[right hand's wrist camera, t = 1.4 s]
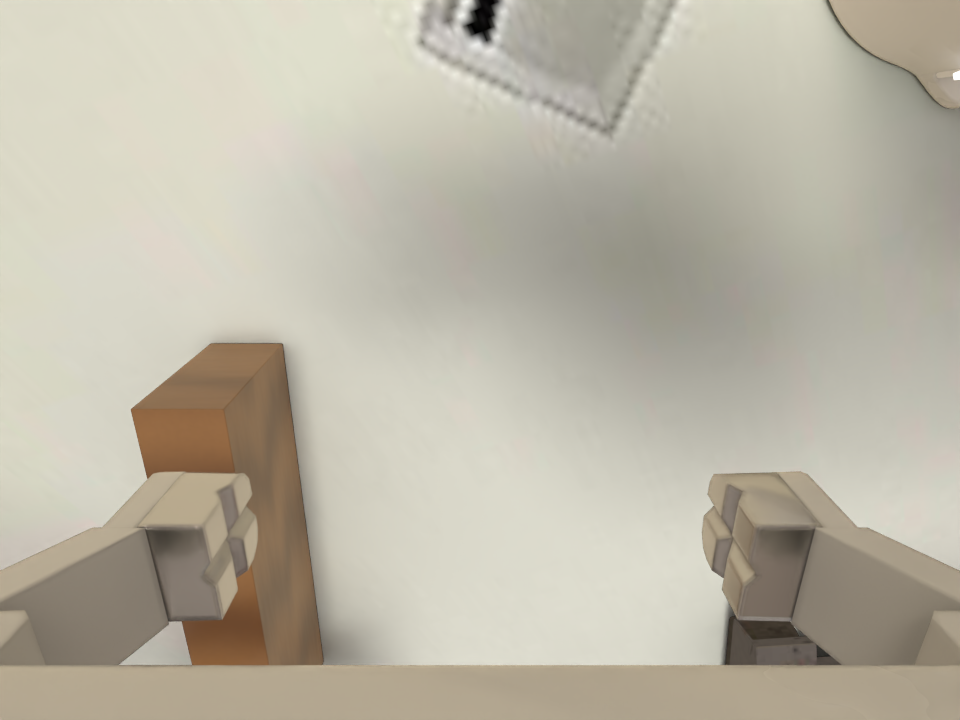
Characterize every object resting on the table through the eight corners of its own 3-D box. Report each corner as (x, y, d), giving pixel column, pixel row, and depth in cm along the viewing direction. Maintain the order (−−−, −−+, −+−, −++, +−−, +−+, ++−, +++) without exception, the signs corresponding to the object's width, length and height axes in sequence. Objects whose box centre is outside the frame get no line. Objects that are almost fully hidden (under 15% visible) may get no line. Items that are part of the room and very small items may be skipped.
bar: (210, 343, 38) (129, 409, 29) (282, 343, 38) (223, 409, 29) (266, 660, 48) (219, 780, 39) (323, 660, 48) (289, 780, 39)
